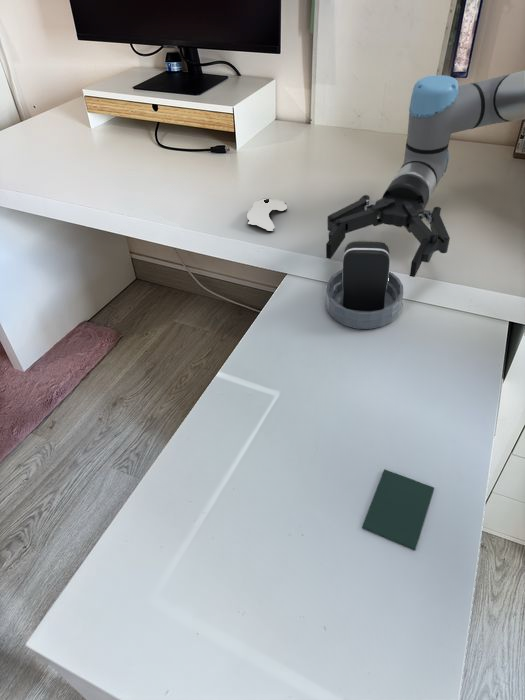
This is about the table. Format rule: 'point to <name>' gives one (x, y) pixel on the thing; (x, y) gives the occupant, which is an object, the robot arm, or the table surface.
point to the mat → (398, 509)
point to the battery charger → (365, 275)
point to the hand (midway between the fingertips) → (369, 260)
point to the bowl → (364, 317)
